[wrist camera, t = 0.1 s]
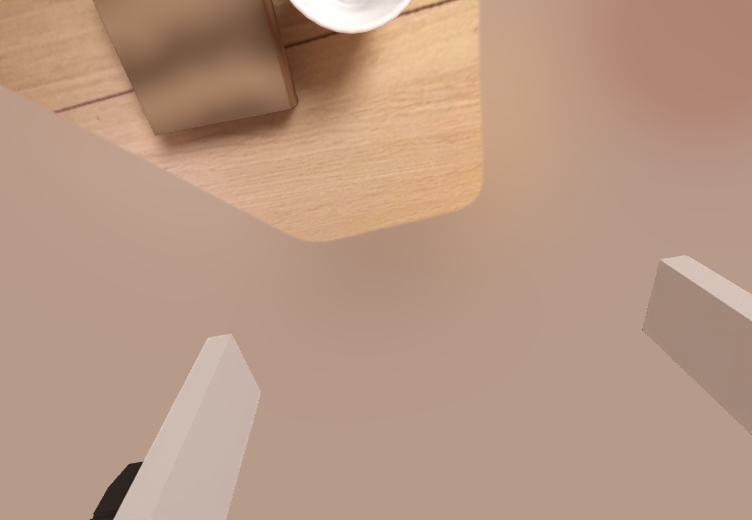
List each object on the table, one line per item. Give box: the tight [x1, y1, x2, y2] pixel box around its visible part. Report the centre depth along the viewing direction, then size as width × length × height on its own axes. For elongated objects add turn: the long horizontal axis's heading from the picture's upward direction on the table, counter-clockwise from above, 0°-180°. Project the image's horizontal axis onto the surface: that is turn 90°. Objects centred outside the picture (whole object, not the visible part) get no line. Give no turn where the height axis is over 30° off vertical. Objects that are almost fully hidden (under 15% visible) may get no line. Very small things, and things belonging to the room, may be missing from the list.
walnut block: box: [93, 0, 298, 135], centre depth 30 cm, size 12×12×5 cm
